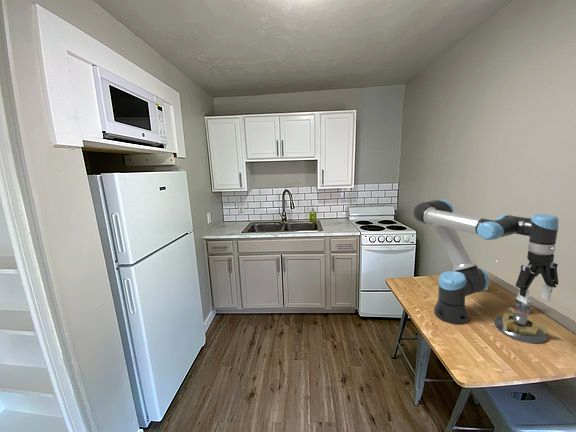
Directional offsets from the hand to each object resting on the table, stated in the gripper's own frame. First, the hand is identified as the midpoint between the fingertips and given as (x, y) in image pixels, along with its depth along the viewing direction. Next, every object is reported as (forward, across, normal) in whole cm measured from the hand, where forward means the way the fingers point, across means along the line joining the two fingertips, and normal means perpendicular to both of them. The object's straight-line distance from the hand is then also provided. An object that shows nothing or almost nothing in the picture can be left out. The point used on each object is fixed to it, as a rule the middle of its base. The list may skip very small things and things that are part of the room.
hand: (534, 301), depth 103 cm
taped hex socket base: (+18, +3, +6) cm, 19 cm away
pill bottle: (+20, +17, +19) cm, 32 cm away
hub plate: (+20, +2, +7) cm, 21 cm away
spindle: (+20, +2, +7) cm, 21 cm away
